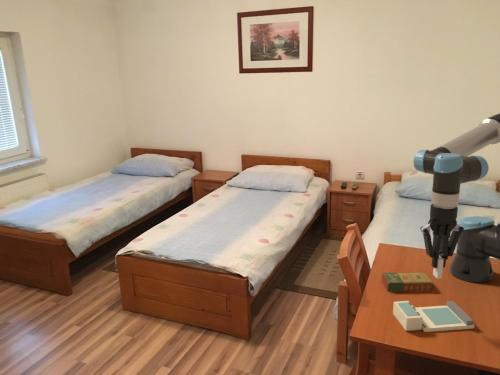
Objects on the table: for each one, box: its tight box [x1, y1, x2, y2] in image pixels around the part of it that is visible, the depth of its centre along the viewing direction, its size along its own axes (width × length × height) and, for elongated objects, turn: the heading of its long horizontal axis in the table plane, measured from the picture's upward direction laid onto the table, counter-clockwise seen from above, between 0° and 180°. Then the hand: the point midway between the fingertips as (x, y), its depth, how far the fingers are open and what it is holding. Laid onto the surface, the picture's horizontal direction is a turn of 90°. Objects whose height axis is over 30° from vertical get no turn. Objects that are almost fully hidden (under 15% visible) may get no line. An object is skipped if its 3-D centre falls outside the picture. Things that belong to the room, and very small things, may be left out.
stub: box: [392, 300, 422, 332], centre depth 138 cm, size 5×10×4 cm, turn 5°
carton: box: [381, 271, 433, 293], centre depth 161 cm, size 8×16×4 cm, turn 88°
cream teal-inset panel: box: [414, 300, 475, 333], centre depth 139 cm, size 16×12×3 cm
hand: (437, 276), depth 135 cm, fingers closed
